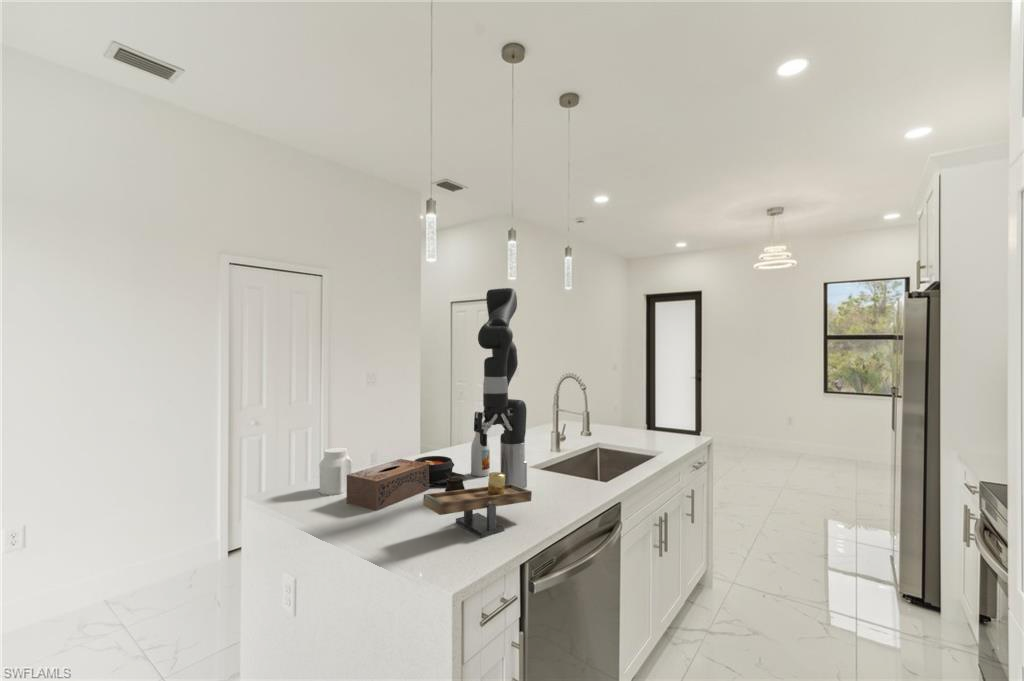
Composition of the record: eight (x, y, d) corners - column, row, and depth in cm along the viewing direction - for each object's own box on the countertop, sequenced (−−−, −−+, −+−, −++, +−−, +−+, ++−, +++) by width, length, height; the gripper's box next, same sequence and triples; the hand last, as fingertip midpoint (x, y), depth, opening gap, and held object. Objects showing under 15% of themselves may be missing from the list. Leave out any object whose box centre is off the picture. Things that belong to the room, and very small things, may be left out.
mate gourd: (462, 505, 156) (461, 475, 156) (440, 504, 158) (440, 475, 158) (468, 498, 163) (467, 470, 163) (447, 497, 165) (447, 469, 165)
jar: (335, 496, 166) (335, 454, 166) (314, 493, 170) (314, 452, 170) (356, 486, 177) (356, 447, 177) (336, 484, 180) (336, 445, 181)
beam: (511, 492, 152) (511, 483, 152) (531, 501, 144) (532, 491, 144) (422, 504, 133) (423, 494, 133) (440, 515, 124) (441, 503, 125)
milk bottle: (475, 478, 188) (475, 428, 189) (468, 473, 195) (468, 425, 195) (492, 475, 192) (492, 427, 192) (485, 471, 199) (484, 424, 199)
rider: (497, 491, 145) (499, 471, 146) (507, 495, 142) (508, 475, 142) (484, 492, 142) (485, 473, 143) (493, 497, 138) (495, 476, 139)
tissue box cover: (400, 484, 181) (400, 458, 181) (428, 490, 174) (429, 463, 174) (346, 504, 159) (346, 474, 159) (376, 511, 151) (376, 481, 152)
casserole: (470, 477, 190) (470, 456, 190) (451, 491, 172) (451, 468, 172) (416, 472, 197) (416, 452, 197) (392, 485, 179) (392, 463, 179)
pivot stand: (477, 516, 146) (477, 491, 146) (504, 530, 135) (504, 503, 135) (455, 522, 141) (455, 496, 141) (481, 537, 130) (481, 509, 130)
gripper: (506, 389, 150) (506, 439, 149) (469, 391, 141) (469, 445, 141) (521, 390, 144) (521, 443, 143) (483, 393, 135) (483, 449, 135)
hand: (495, 444), depth 142 cm, fingers open, 8 cm apart
